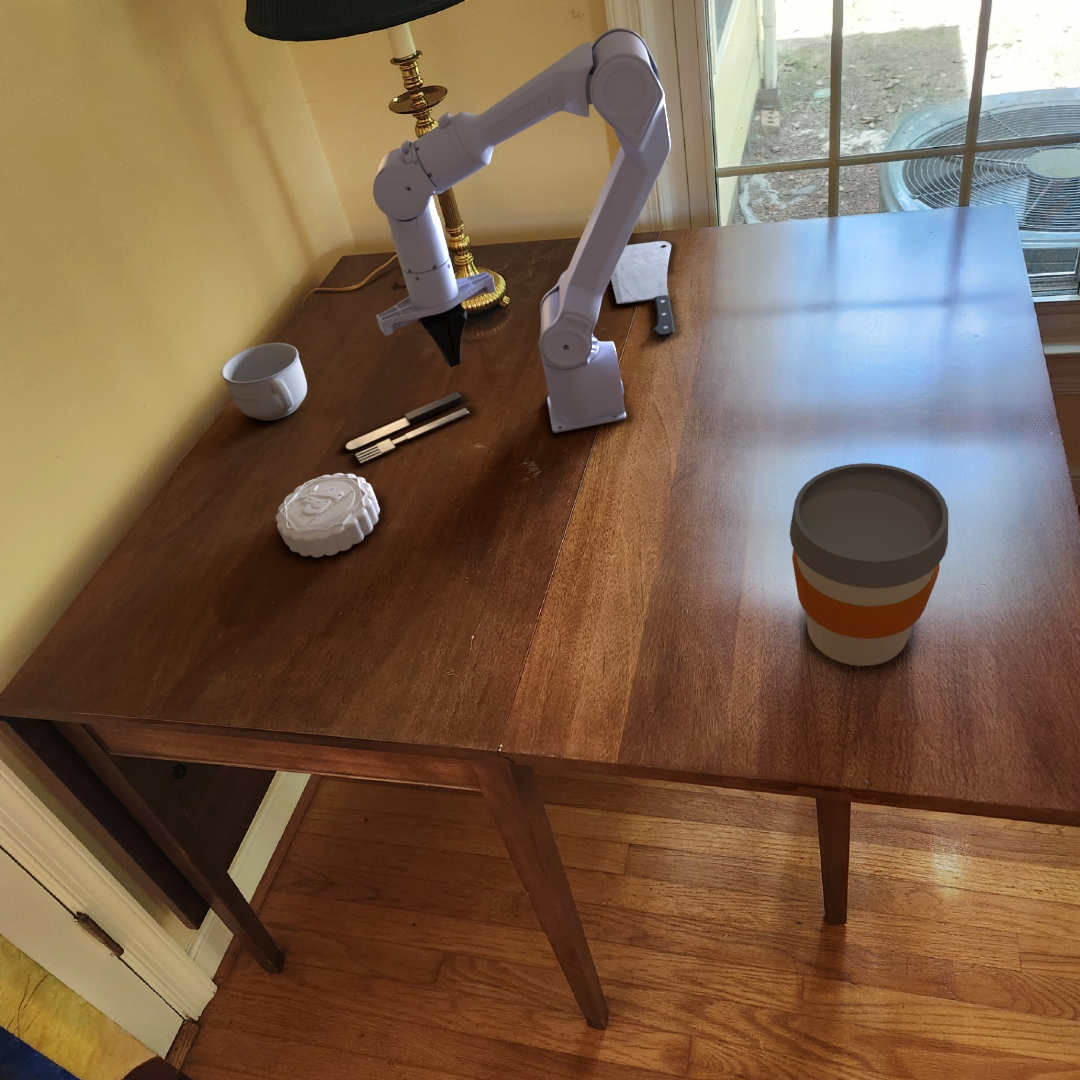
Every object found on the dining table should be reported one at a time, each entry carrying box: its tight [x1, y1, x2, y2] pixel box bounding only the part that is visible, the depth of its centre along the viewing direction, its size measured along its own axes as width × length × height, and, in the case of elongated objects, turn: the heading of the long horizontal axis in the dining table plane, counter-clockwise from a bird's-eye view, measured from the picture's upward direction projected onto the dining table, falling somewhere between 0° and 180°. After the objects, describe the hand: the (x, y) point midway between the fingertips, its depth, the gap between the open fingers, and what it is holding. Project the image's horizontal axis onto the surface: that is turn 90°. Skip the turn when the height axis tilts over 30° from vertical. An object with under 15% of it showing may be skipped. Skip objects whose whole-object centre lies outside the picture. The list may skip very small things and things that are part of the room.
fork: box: [354, 407, 470, 465], centre depth 119 cm, size 16×2×1 cm, turn 117°
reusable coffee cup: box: [789, 462, 949, 667], centre depth 79 cm, size 13×12×15 cm
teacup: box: [220, 342, 308, 421], centre depth 126 cm, size 14×11×8 cm
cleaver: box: [610, 240, 676, 338], centre depth 136 cm, size 29×1×10 cm
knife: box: [345, 391, 464, 452], centre depth 121 cm, size 17×2×1 cm, turn 117°
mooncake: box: [275, 472, 381, 558], centre depth 107 cm, size 12×12×4 cm
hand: (453, 362), depth 112 cm, fingers closed
